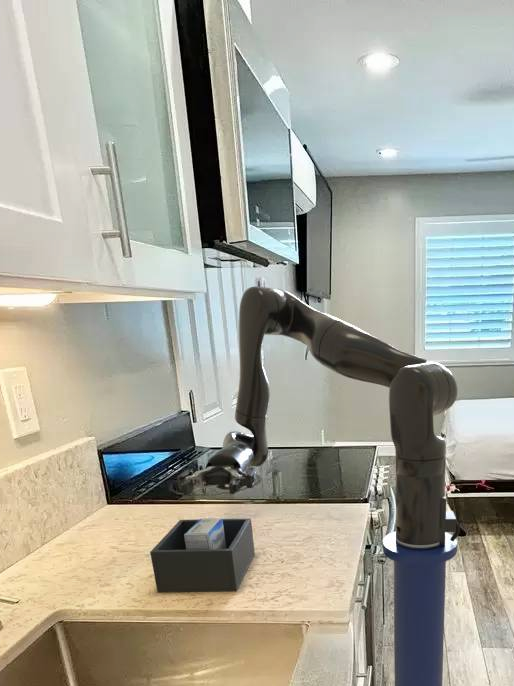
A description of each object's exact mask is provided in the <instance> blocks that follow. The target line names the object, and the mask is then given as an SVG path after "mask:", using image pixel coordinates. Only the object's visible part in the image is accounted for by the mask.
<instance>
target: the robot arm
mask: <svg viewBox="0 0 514 686" xmlns="http://www.w3.org/2000/svg"><path fill="white" fill-rule="evenodd" d="M238 311H239V312H238V349H239V351H238V352H239V380H238V391H237V397H236V404H235V412H234V420H235V422H236V423H237V424H238V425H239V426H241V427H243V428H245V429H247V430H249V431H250V433H251V434H249V433H245V432H241V431H237V430H234V431H229V432H227V434H226V435H225V436H224V438H223V442H222V448H220V449H219V450H218V451H217V452H216V453H214V455H212V457H210V458H209V460H208V461H207V463H206V465H205V467H204V468H203V469H201V470H196V471H195V472H194V469H193V468H188V469H186V470H183V472H181V473H180V474H179V475H177V478H176V479H177V483H178V488H179V490H181V493H182V494H183V495H184V496H189V495H190V494H191V493H192V492H193V491H194V490H197V489H198V490H206V489H209V488H216V489H219V490H225V491H229V494H230V495H235V494H236V493H237V492H239V491H240V490H243V489H244V487H246V488H247V489H252V488H254V486H255V484H256V481H257V473H256V467H261V466H262V465H264V464H265V462H266V461H267V459H268V456H269V444H268V439H267V425H266V424H267V415H268V409H269V405H270V396H271V395H270V394H271V393H270V383H269V380H268V377H267V374H266V371H265V368H264V367H265V366H264V364H263V359H262V346H263V341H264V337H265V335H266V336H267V335H268V336H284V337H287V338H291V339H293V340H295V341H298V342H299V343H302V344H303V345H305V346H306V347H307V349H308V351H309V352H310V355H311V356H312V357H313V358H314V359H315V360H316V361H317V363H319V364H320V365H322V366H324V367H325V368H327V369H329V370H331V371H333V372H334V373H336V374H338V375H341V376H342V377H345V378H349V379H352V380H356V381H360V382H365V383H370V384H374V385H379V386H383V387H385V388H386V387H387V388H388V389H389V391H388V408H389V411H388V412H389V424H390V426H389V428H390V437H391V441H392V443H393V445H394V450H395V453H394V454H395V524H394V530H395V531H396V543H397V545H399V546H400V547H403V548H406V549H410V550H431V549H435V548H438V547H445V532H447V533H453V534H452V537H451V538H450V540H451V541H454V540H455V539H456V540H457V538H458V537H459V535H460V532H461V526H460V524H459V522H458V521H457V517H456V515H455V512H454V510H447V498H446V467H447V466H446V465H447V464H446V462H447V442H446V440H445V439H444V438H443V437H442V436H440V435H439V436H438V435H436V433H435V430H434V429H435V426H434V424H435V423H434V416H436V415H440V414H442V413H444V412H446V411H447V410H449V409H450V408H451V407H452V406H453V405H454V404H455V402H456V400H457V398H458V385H457V381H456V378H455V377H454V375H453V373H452V372H451V371H450V369H448V368H447V367H445V366H444V365H443V364H441V363H439V362H435V361H432V360H429V359H426V358H423V357H420V356H418V355H414V354H411V353H408V352H406V351H403V350H401V349H398V348H397V347H395V346H393V345H391V344H389V343H388V342H386V341H383V340H382V339H380V338H378V337H376V336H374V335H372V334H370V333H368V332H367V331H364V330H362V328H359V327H357V326H355V325H353V324H351V323H350V322H349V323H348V322H346V321H344V320H342V319H340V318H337V317H335V316H333V315H330V314H327V313H325V312H322V311H319V310H317V309H314V308H313V307H311V306H309V305H308V304H306V303H305V302H304V301H302V300H301V299H299V298H297V296H295V295H294V294H292V293H290V292H289V291H288V290H284V289H282V288H276V287H267V286H266V287H265V286H256V285H255V286H250V287H248V288H246V289H245V291H244V292H243V294H242V296H241V299H240V303H239V309H238Z"/></svg>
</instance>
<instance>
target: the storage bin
mask: <svg viewBox="0 0 514 686" xmlns="http://www.w3.org/2000/svg"><path fill="white" fill-rule="evenodd" d="M200 519H201V518H200ZM200 519H179V520H178V521H177V523H176V524H175V525H174V526H173V527H172V528H171V529H170V530H169V531H167V533H166V534H165V536H163V537H162V539H160V541H159V542H158V543H157V544H156V545H155V546H154V547H153V548H152V549H151V550H150V552H149V554H150V559H151V564H152V570H153V576H154V581H155V586H156V592H157V594H172V593H173V594H174V593H177V594H179V593H180V594H181V593H230V592H231V593H233V592H234V593H236V592H238V590H239V588H240V586H241V584H242V582H243V580H244V578H245V576H246V574H247V572H248V570H249V568H250V565H252V564H251V563H252V562H253V559H254V558H255V556H256V553H255V551H256V550H255V545H254V544H255V543H254V533H253V524H252V518H221V519H222V520H223V527H224V535H225V542H226V549H198V550H187V549H186V543H185V537H184V534H185V533H187V532H188V531H189V530H190V529H191V528H192V527H193V526H194V525H195V524H196V523H197V522H198V521H199V520H200Z"/></svg>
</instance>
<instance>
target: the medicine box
mask: <svg viewBox="0 0 514 686" xmlns="http://www.w3.org/2000/svg"><path fill="white" fill-rule="evenodd" d="M222 519H223V518H220V517H218V518H217V517H206V518H205V517H204V518H200V520H199V521H198V522H197V523H196V524H195V525H194V526H193V527H192V528H191V529H190V530H189V531H188V532H187V533H185V534H184V537H185V543H186V549H187V550H198V549H226V542H225V535H224V527H223V520H222Z"/></svg>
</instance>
